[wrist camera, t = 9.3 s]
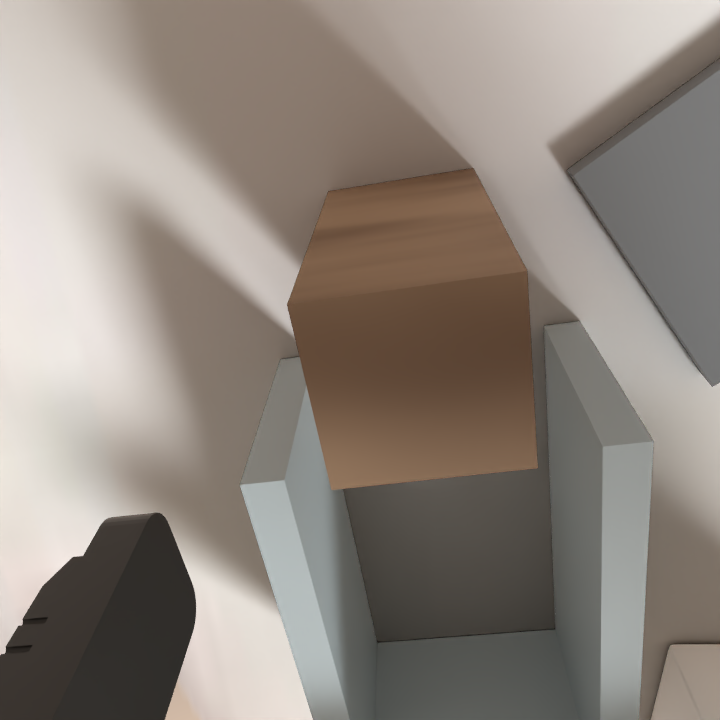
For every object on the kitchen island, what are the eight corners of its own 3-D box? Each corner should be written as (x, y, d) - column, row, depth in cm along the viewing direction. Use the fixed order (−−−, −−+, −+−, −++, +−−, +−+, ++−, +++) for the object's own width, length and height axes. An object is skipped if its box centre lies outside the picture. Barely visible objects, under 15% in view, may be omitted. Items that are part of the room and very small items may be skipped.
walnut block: (484, 303, 22) (537, 468, 14) (353, 321, 22) (331, 489, 14) (473, 168, 20) (527, 271, 12) (328, 191, 20) (286, 304, 12)
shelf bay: (583, 645, 29) (722, 1104, 17) (355, 661, 31) (331, 1102, 18) (580, 321, 22) (821, 716, 10) (280, 359, 23) (152, 754, 11)
